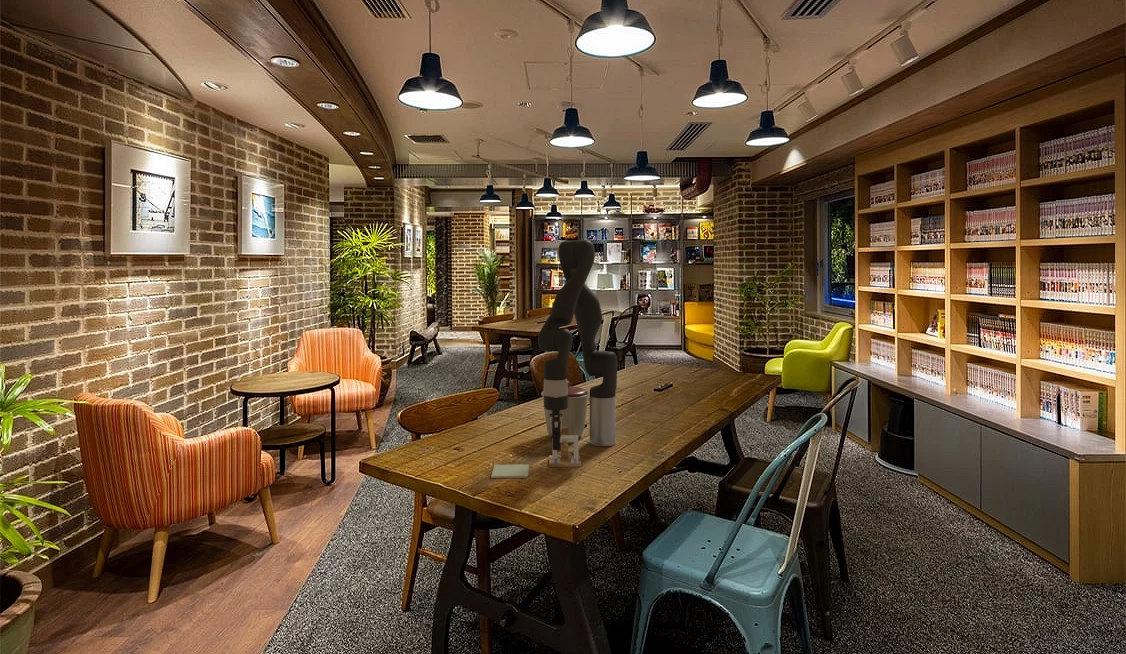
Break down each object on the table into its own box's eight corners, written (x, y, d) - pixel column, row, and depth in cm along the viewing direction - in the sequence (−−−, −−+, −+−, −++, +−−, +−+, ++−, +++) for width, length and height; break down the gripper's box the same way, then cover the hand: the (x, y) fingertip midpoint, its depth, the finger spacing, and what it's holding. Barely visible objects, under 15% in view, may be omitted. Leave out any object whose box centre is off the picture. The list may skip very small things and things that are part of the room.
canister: (590, 443, 229) (590, 385, 227) (540, 443, 230) (539, 385, 228) (589, 430, 247) (589, 376, 245) (542, 430, 248) (542, 376, 246)
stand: (549, 458, 212) (549, 425, 210) (579, 457, 212) (579, 425, 211) (549, 477, 193) (549, 441, 192) (582, 476, 193) (582, 441, 192)
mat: (494, 466, 203) (494, 464, 203) (529, 466, 203) (529, 464, 203) (491, 478, 192) (491, 476, 192) (527, 477, 192) (527, 475, 192)
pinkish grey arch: (552, 460, 199) (552, 435, 199) (578, 460, 199) (578, 435, 199) (552, 463, 196) (552, 438, 196) (578, 463, 196) (578, 437, 196)
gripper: (543, 388, 203) (544, 442, 204) (543, 398, 189) (543, 455, 190) (567, 388, 203) (567, 441, 204) (568, 397, 189) (569, 454, 190)
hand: (556, 447), depth 197 cm, fingers closed on pinkish grey arch, 3 cm apart
